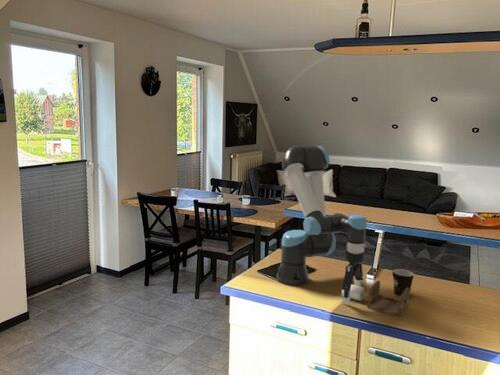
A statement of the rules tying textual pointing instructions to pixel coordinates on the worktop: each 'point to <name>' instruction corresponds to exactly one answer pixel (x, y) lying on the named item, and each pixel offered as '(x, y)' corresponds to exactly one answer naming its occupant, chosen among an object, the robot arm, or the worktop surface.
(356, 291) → the roll
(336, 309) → the worktop surface
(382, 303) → the holder
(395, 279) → the coffee mug
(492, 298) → the worktop surface
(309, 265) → the worktop surface
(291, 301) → the worktop surface
